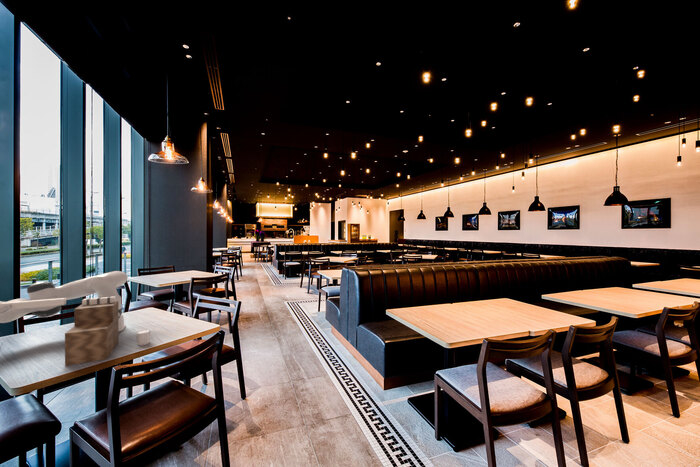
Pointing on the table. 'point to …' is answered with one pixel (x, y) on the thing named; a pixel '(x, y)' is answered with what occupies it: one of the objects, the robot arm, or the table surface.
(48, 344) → the table surface
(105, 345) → the two-step stand
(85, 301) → the striped bar
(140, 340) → the white rounded cube
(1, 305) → the plain bar
